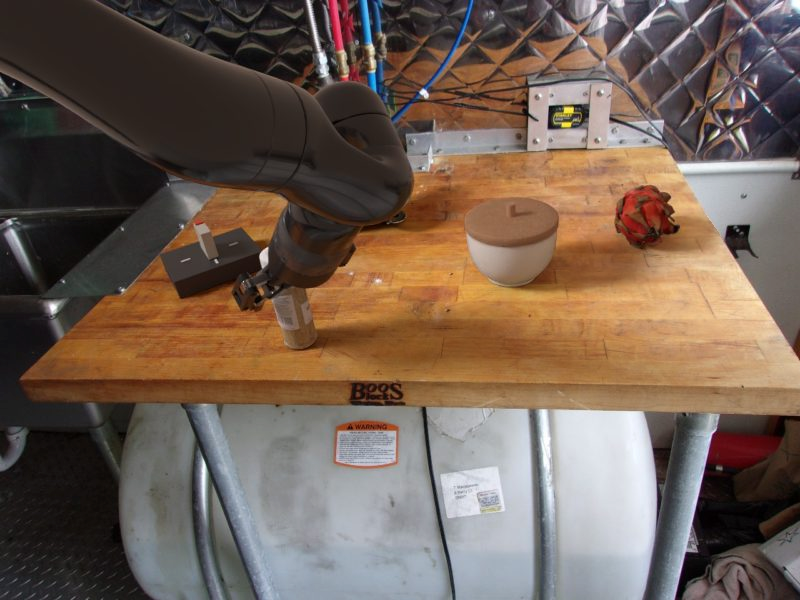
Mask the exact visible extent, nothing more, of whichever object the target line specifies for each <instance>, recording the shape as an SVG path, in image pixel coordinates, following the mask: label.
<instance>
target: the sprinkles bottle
mask: <svg viewBox="0 0 800 600" xmlns="http://www.w3.org/2000/svg"><path fill="white" fill-rule="evenodd" d="M268 248H269V246H267V247H266V248H264V249H262V252H261V253H260V256H259V257H260V262H261V266H262V269H263V268H264V267H265V266H266V265H267V264H268ZM262 269H261V270H262ZM274 287H275V289H276V290H277V289H278V288H280V287H277V286H274ZM271 302H272V304H273V308H274V310H275V316H276V318H277V322H278V325H279V327H280V330H281V334H282V336H283V344H284V345H285V347H287V348H288V349H291V350H303V349H306V348H309V347H310V346H312V345H313V344H314V343H315V342H316V341H317V340H318V331H317V329H316V326H315V323H314V318H313V312H312V309H311V304H310V301H309V297H308V293H307V290H306V289H305V288H297V287H295V288H292V289H289V290H288V291H286V292H285V293H283V294H282V295H281V296H279V297H278V298H275V299H271Z"/></svg>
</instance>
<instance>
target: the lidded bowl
mask: <svg viewBox="0 0 800 600" xmlns="http://www.w3.org/2000/svg"><path fill="white" fill-rule="evenodd" d="M559 221H560V215H559V213H558V211H557V210H556V209H555V208H554V207H553V206H552V205H550V204H548V203H547V202H545V201H541V200H539V199H535V198H528V197H519V196H518V197H517V196H515V197H501V198H495V199H490V200H487V201H483V202H482V203H481V202H480V203H479V204H476V205H475V206H473V207H472V208H470V209H469V211H468V212H467V213H466V215H465V217H464V229H465V236H466V245H467V250H468V254H469V256H470V260H471V262H472V264H473V265H474V267H475V268H476V269H477V270H478V271H479V273H481V274H482V275H483V276H484V277H485V278H487V280H488V281H489V282H490V283H492V284H494V285H497V286H500V287H505V288H516V287H522V286H525V285H528V284H530V283H532V282H533V281H534V280H535V279H536V278H537V276H539V275H540V274H541V273H543V272H544V271H545V269H546V268H547V267H548V265H549V264H550V263H551V261H552V258H553V256H554V253H555V251H556V246H557V241H558V240H557V239H558V229H559V225H560V222H559Z"/></svg>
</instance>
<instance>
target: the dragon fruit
mask: <svg viewBox="0 0 800 600" xmlns="http://www.w3.org/2000/svg"><path fill="white" fill-rule="evenodd" d="M671 199H672V195H671V194H669V193H668V192H667V191H660V190H659V188H658V187H657V186H656V185H653V184H647V185H644V184H643V185H641V184H640V185H639V186H636V187H633V188H631V189H629V190H627V191H626V192H625V193H624V195H623V196H622V198H620V199H619V200H618V201H616V206H615V217H614V221H613V224H614V227H615V232H616V233H617V234H622V235H624V238H625V240H626V241H627V242H629V245H630V246H633V247H634V248H636V249H641V250H643V248H642V246H643V244H644V243H646V244H648V245H650V246H652V247H655V246H656V245H658V244H659V243H662V236H663V235H666V236H670V235H676V234H677V233H678V232H679V230H680V229H681V225H680V224H675V223H676V220H675V219H674V218H673V217H672V215H674V214H675V213H676V211H675V209H674V207H673V206H672V205H671V204H669V202H670V200H671ZM671 221H672V222H673V223H672V222H671Z"/></svg>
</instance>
